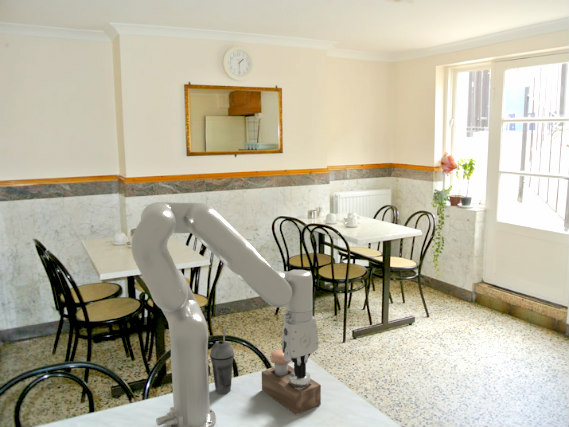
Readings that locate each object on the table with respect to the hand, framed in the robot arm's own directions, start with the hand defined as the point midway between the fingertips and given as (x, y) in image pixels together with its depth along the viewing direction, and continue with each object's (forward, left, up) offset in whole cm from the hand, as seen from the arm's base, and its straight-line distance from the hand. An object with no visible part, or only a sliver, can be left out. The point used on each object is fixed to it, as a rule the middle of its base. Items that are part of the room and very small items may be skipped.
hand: (300, 375), depth 141 cm
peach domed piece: (0, +9, -4) cm, 10 cm away
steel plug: (0, 0, -8) cm, 8 cm away
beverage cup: (-14, +20, -9) cm, 26 cm away
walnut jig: (0, +5, -9) cm, 10 cm away
